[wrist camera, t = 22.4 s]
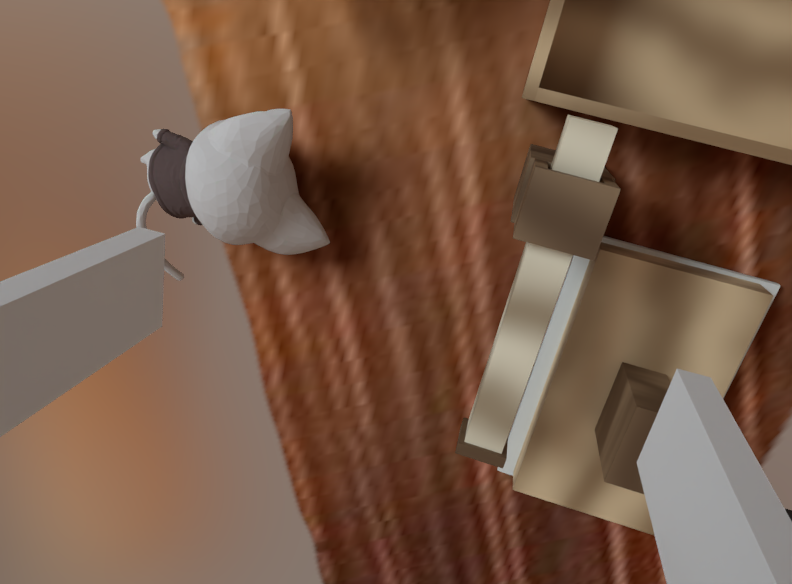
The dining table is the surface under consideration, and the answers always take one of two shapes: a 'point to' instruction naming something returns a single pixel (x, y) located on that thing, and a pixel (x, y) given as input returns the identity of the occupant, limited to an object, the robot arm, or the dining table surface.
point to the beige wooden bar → (529, 308)
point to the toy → (234, 184)
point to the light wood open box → (652, 94)
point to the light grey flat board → (558, 327)
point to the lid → (629, 375)
